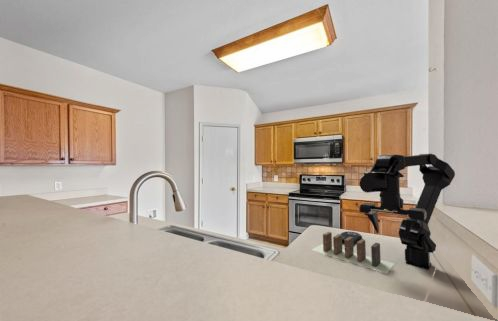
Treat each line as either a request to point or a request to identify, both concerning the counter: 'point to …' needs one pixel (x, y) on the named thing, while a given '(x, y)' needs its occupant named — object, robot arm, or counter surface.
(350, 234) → the electronic device
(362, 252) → the brown wooden block
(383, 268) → the runner mat
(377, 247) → the tile
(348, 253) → the domino
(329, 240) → the domino
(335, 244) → the domino
